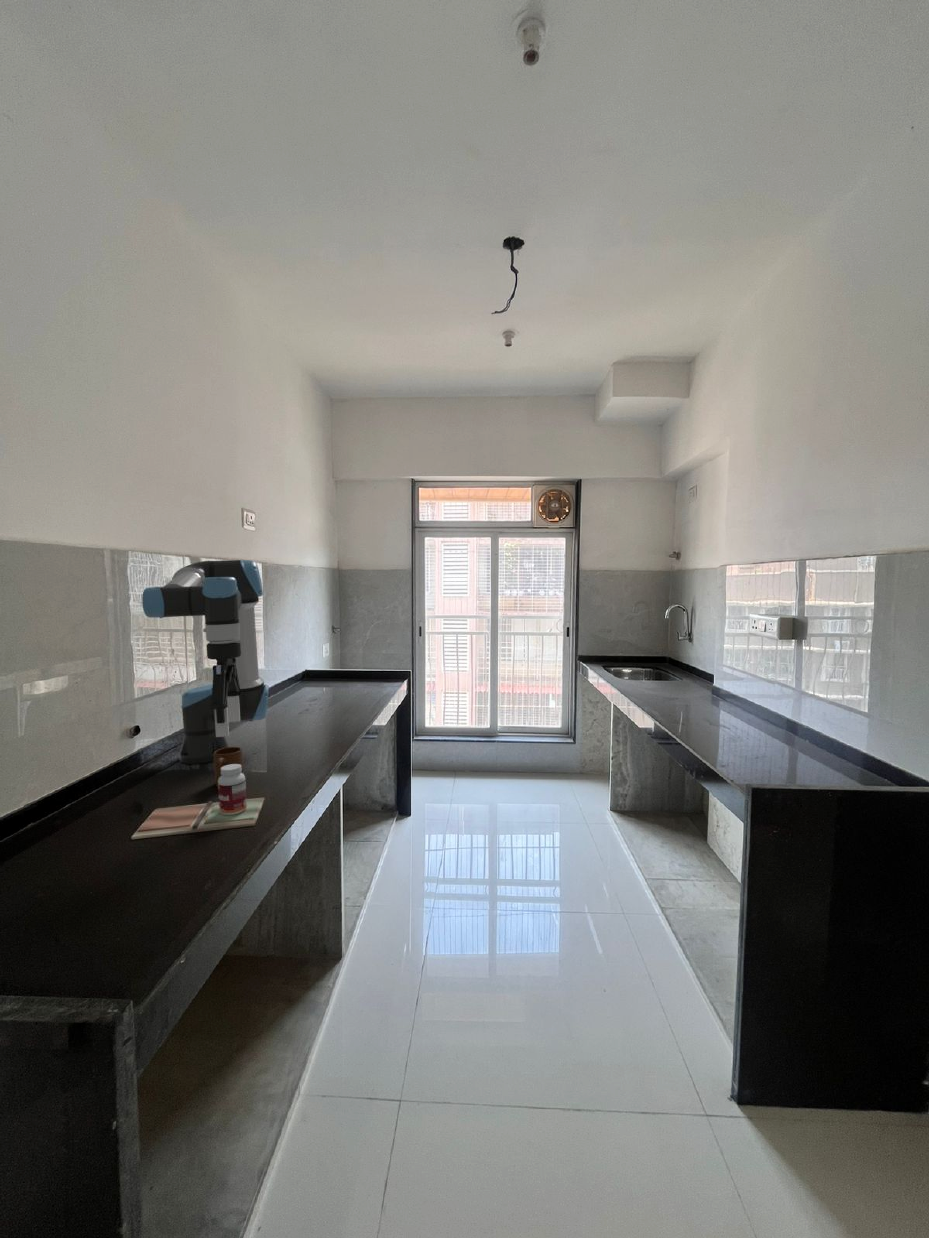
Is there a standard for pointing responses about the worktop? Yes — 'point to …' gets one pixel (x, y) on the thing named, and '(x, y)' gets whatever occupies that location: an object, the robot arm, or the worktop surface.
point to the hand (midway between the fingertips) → (228, 728)
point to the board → (196, 819)
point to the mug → (227, 759)
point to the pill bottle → (232, 790)
